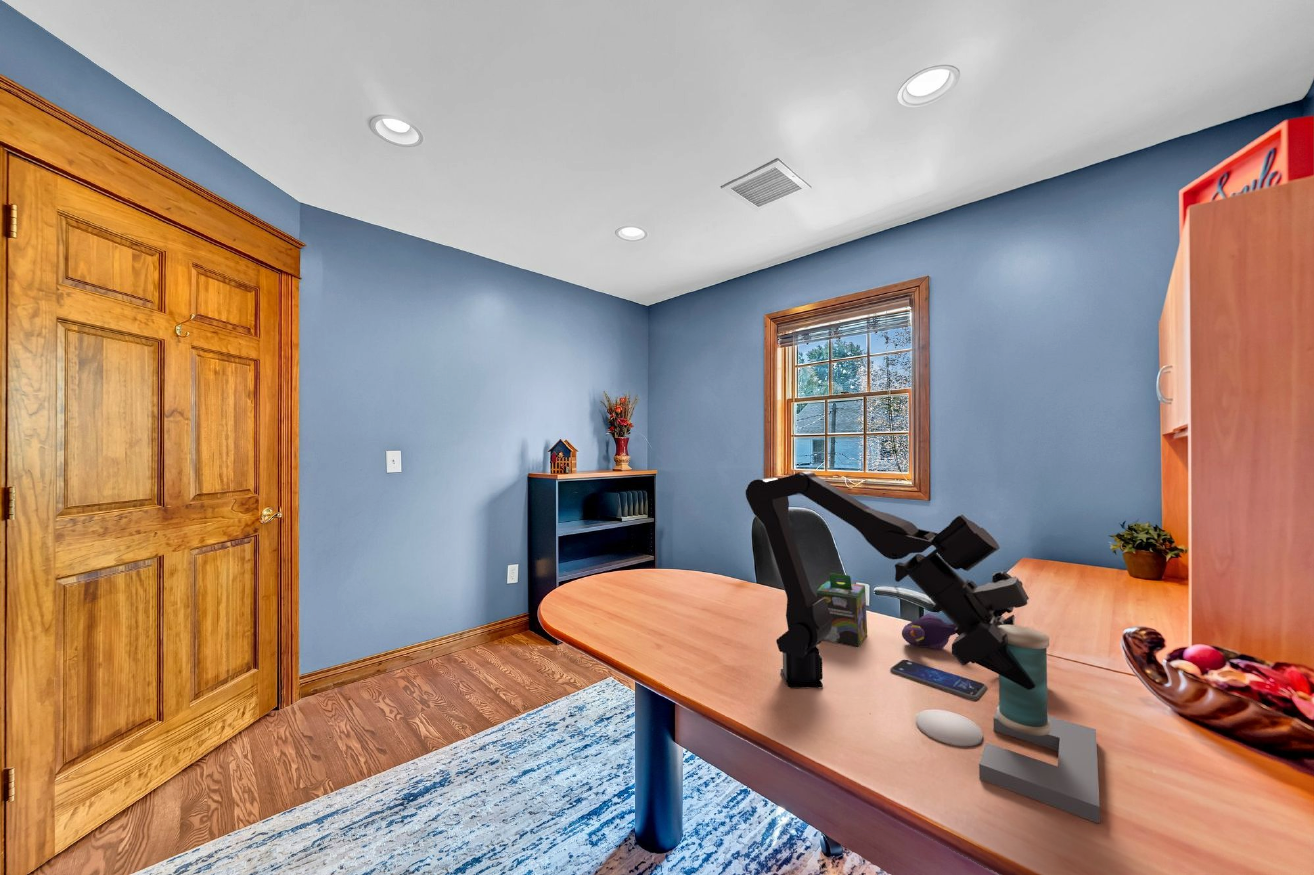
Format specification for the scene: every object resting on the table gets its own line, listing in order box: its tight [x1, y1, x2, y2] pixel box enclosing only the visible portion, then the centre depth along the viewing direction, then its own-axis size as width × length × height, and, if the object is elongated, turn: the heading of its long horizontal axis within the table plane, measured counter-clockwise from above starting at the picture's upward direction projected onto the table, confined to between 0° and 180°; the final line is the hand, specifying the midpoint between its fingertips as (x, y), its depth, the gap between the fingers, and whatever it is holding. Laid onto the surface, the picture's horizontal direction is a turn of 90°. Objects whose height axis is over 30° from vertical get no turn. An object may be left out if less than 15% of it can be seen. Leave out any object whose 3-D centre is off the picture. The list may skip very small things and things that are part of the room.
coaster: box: [915, 708, 983, 747], centre depth 77 cm, size 9×9×1 cm
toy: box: [901, 613, 957, 651], centre depth 107 cm, size 11×12×7 cm
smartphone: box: [889, 659, 988, 701], centre depth 92 cm, size 7×1×15 cm
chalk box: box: [815, 572, 868, 648], centre depth 113 cm, size 9×9×15 cm
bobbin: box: [996, 624, 1051, 736], centre depth 70 cm, size 6×6×13 cm
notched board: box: [978, 701, 1101, 824], centre depth 69 cm, size 12×20×2 cm, turn 139°
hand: (1034, 679), depth 70 cm, fingers closed on bobbin, 6 cm apart
